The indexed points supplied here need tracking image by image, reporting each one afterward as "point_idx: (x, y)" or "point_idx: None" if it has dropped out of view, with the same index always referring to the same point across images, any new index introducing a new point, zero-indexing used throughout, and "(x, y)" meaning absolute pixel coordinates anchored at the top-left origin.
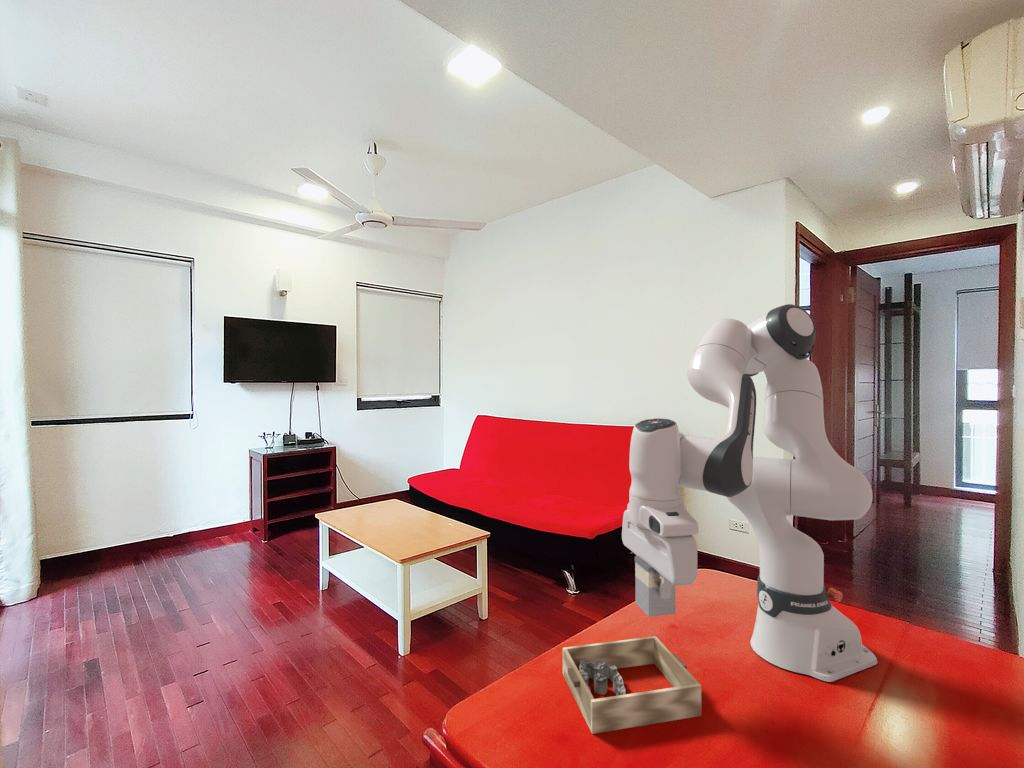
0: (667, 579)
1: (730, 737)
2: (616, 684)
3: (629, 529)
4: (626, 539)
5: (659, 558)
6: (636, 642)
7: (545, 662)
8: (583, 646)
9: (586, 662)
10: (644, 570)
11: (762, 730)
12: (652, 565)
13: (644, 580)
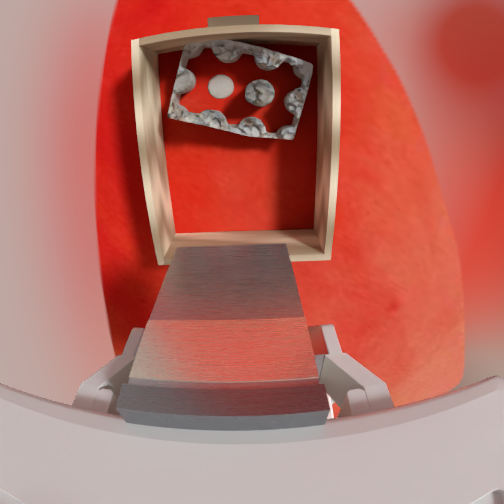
0: (12, 390)
1: (130, 254)
2: (242, 120)
3: (485, 495)
4: (488, 421)
5: (35, 471)
6: (326, 211)
7: (365, 26)
8: (334, 77)
9: (306, 77)
10: (180, 380)
11: (144, 297)
12: (122, 430)
13: (188, 333)
